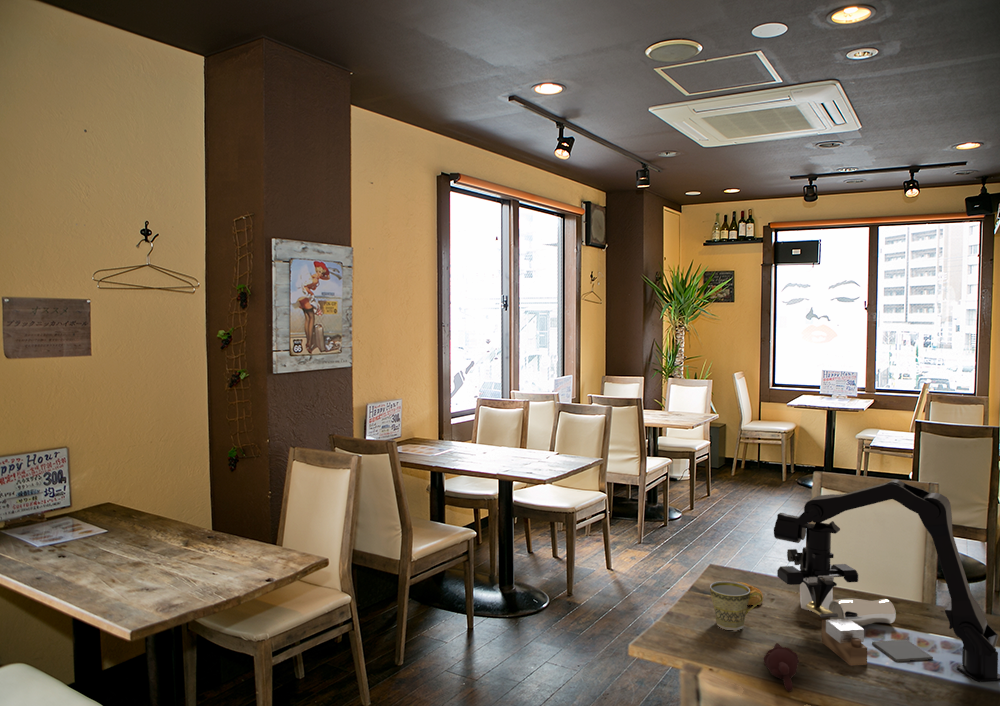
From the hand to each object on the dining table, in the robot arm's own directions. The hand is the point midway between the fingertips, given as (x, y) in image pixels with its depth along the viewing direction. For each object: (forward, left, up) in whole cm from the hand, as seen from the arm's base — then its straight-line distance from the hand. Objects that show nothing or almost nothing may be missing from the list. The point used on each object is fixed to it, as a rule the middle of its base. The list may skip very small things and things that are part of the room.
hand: (816, 607), depth 179 cm
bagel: (+22, +9, -7) cm, 24 cm away
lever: (-2, 0, -1) cm, 2 cm away
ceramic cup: (+5, +19, -6) cm, 21 cm away
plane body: (-12, 0, -6) cm, 13 cm away
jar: (+14, -8, -6) cm, 17 cm away
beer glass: (+3, -21, -3) cm, 22 cm away
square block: (-12, 0, -2) cm, 12 cm away
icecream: (-20, +20, -7) cm, 29 cm away
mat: (-13, -14, -6) cm, 20 cm away
